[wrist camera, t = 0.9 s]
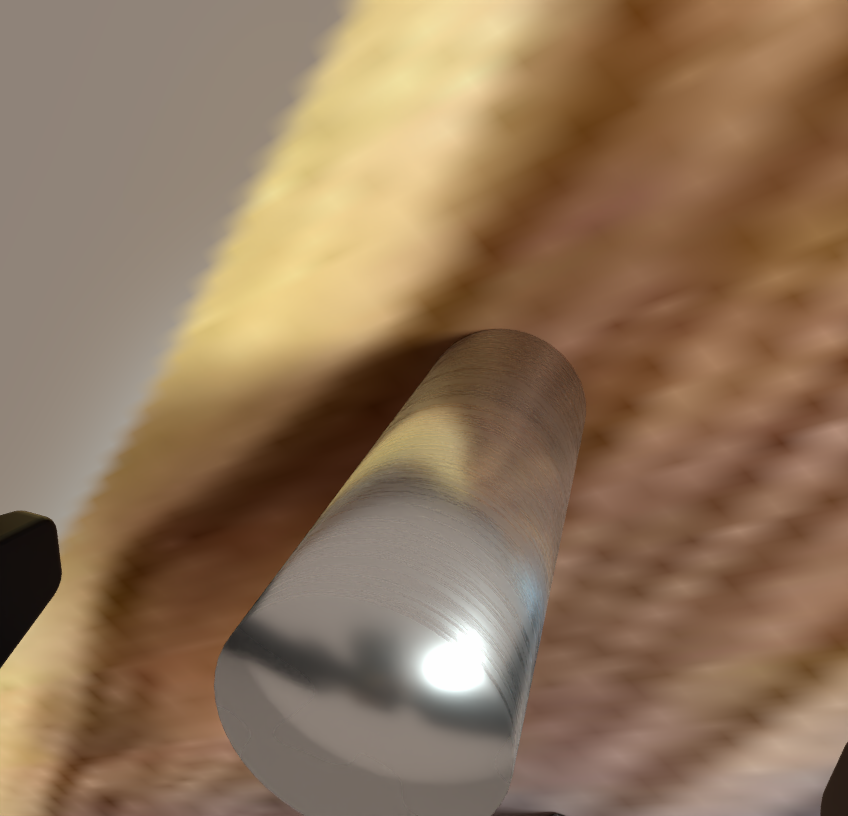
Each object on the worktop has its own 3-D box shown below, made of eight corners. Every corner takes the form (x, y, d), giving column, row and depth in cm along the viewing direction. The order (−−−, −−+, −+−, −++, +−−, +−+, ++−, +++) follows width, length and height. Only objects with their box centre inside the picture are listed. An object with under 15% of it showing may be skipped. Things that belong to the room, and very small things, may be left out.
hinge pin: (600, 345, 13) (539, 651, 6) (569, 493, 15) (489, 882, 8) (435, 315, 14) (213, 563, 7) (418, 458, 15) (216, 790, 8)
